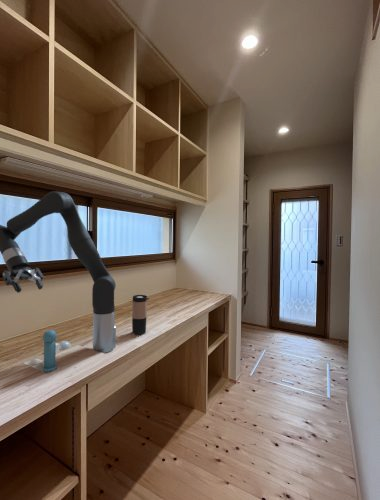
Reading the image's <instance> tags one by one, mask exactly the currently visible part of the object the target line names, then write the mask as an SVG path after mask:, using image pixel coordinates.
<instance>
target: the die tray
mask: <svg viewBox="0 0 380 500" xmlns="http://www.w3.org/2000/svg"><path fill="white" fill-rule="evenodd" d="M71 347H72V345H71V343H70V342H69V341H67V340H62V341H61V342H56V353H57V352H59V351H65V350H68V349H71Z"/></svg>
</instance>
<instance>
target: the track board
mask: <svg viewBox="0 0 380 500" xmlns="http://www.w3.org/2000/svg"><path fill="white" fill-rule="evenodd" d="M23 364H25V365H27V366H29V367H31V368H33V369H36V370H38V371H41V372H43V371H42V367H43V366H44V360H41V359H39V358H33V359H31V360H28V361H25V362H24V363H23ZM59 369H60V367H59V366H57V369H56V370H59ZM56 370H54V371H51V372H43V373H45V374H47V375H49V374H51V373H52V372H55V371H56Z"/></svg>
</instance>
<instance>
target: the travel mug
mask: <svg viewBox="0 0 380 500" xmlns="http://www.w3.org/2000/svg"><path fill="white" fill-rule="evenodd" d="M147 298H148V296H147V295H146V294H134V295H132V314H131V317H132V318H131V320H132V321H131V323H132V324H131V328H132V331H131V333H132V335H136V336H140V335H145V334H146V332H147V316H148V315H147V311H148V310H147V306H148V304H147V301H148V299H147Z"/></svg>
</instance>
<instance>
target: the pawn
mask: <svg viewBox="0 0 380 500" xmlns="http://www.w3.org/2000/svg"><path fill="white" fill-rule="evenodd" d="M57 337H58V335H57V332H56V331H55V330H53V329H49V330H47V331H45V332H44V333H43V335H42V341H43V362H44V366H43V367H42V371H43V373H45V372H50V373H52V372H51V371H53V372H55V371H56V369H57V367H58V364H57V363H56V357H57V356H56V355H57V354H56V353H57V352H56V343H57V342H56V339H57ZM54 370H55V371H54ZM57 370H58V369H57ZM42 371H41V372H42Z"/></svg>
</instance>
